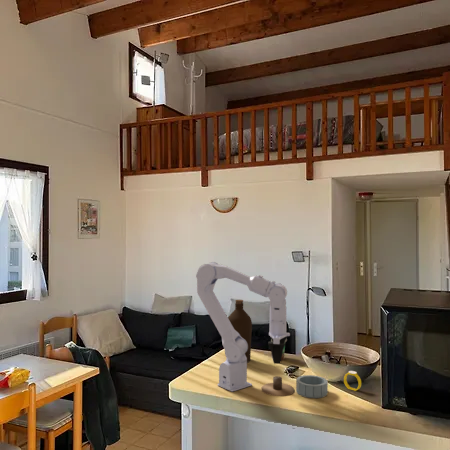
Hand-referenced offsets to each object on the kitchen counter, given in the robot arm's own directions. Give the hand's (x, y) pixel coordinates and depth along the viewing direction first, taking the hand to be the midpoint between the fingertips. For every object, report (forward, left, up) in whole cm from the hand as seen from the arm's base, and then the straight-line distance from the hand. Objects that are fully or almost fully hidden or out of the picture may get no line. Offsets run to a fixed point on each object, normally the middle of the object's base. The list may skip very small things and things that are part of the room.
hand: (277, 360), depth 146 cm
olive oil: (+12, +33, -10) cm, 36 cm away
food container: (+27, +24, -10) cm, 37 cm away
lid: (0, 0, -10) cm, 10 cm away
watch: (+20, -16, -10) cm, 27 cm away
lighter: (+23, -5, -10) cm, 25 cm away
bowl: (+7, -9, -10) cm, 15 cm away
